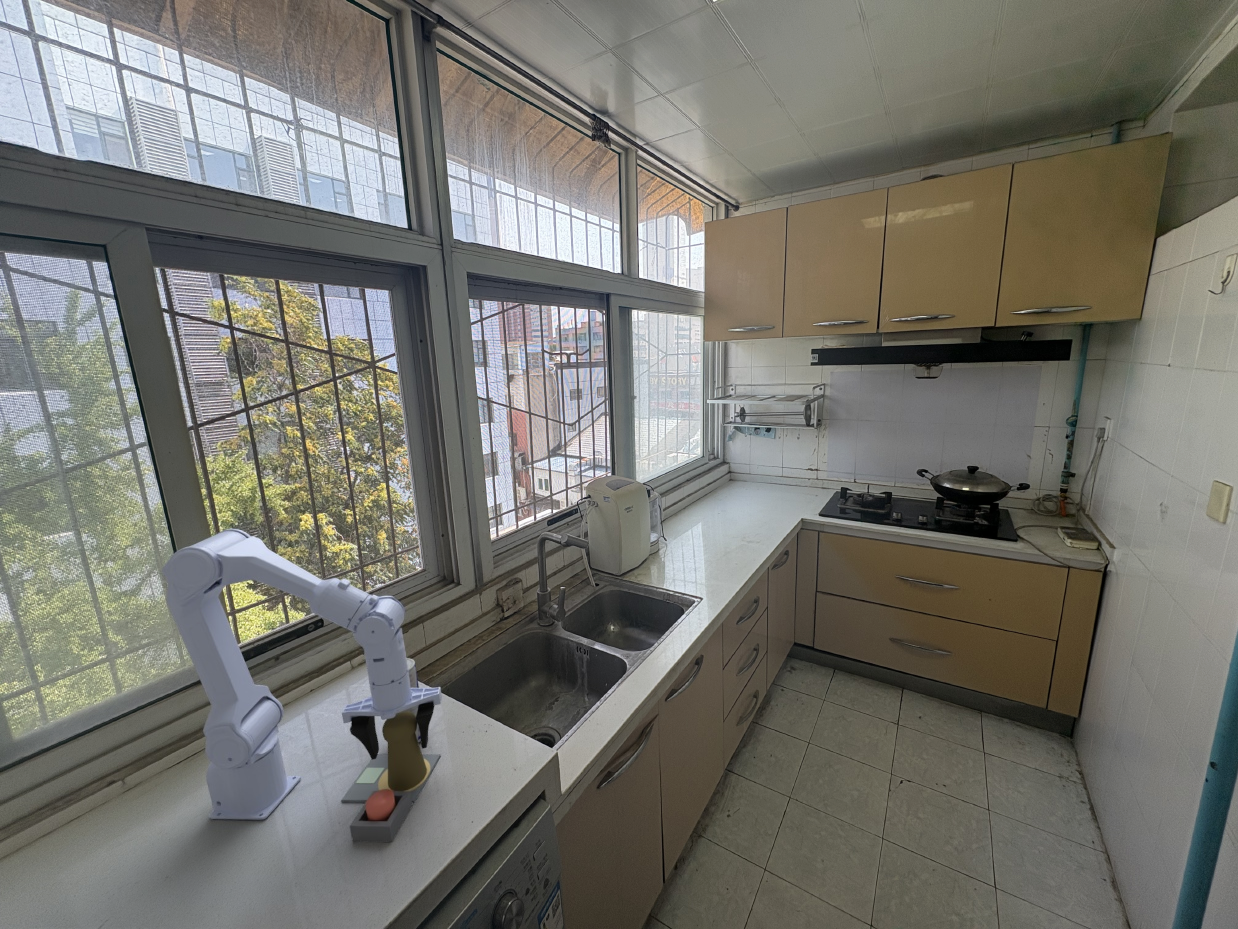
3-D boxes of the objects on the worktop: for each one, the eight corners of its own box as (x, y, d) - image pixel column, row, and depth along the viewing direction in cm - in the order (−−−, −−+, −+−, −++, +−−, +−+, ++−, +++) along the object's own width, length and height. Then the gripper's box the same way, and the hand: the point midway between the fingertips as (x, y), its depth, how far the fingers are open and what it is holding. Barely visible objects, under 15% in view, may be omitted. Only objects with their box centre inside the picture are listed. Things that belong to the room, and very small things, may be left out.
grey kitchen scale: (341, 802, 77) (341, 799, 77) (375, 756, 86) (375, 753, 86) (414, 803, 76) (413, 800, 76) (440, 756, 85) (440, 753, 85)
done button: (362, 825, 71) (359, 810, 70) (377, 802, 75) (374, 789, 74) (387, 825, 71) (385, 811, 70) (400, 803, 74) (398, 789, 74)
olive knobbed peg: (434, 764, 83) (426, 707, 81) (412, 794, 77) (402, 732, 75) (403, 760, 84) (394, 703, 82) (379, 788, 79) (369, 728, 77)
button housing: (352, 841, 70) (349, 826, 70) (375, 805, 76) (373, 790, 76) (392, 842, 70) (389, 826, 69) (412, 805, 76) (410, 791, 75)
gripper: (330, 699, 72) (344, 779, 75) (433, 680, 76) (444, 756, 78) (344, 672, 79) (357, 746, 81) (438, 656, 82) (448, 727, 85)
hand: (400, 749), depth 80 cm, fingers open, 7 cm apart
